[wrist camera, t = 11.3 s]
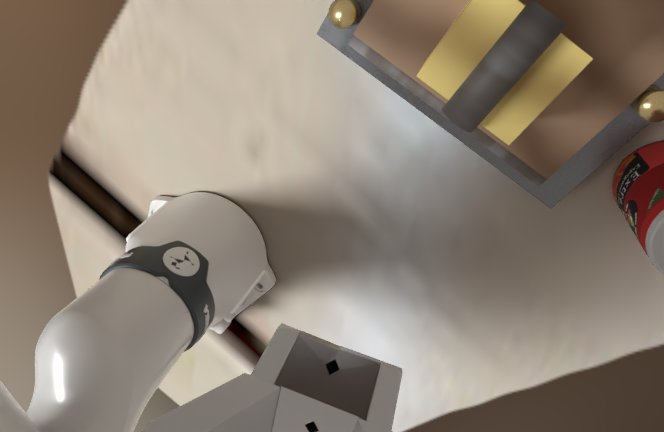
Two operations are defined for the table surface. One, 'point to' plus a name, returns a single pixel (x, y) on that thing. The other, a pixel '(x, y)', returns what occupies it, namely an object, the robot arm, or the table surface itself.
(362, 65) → the grey tray
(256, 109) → the table surface
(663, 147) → the canned food
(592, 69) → the level plate
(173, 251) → the robot arm
